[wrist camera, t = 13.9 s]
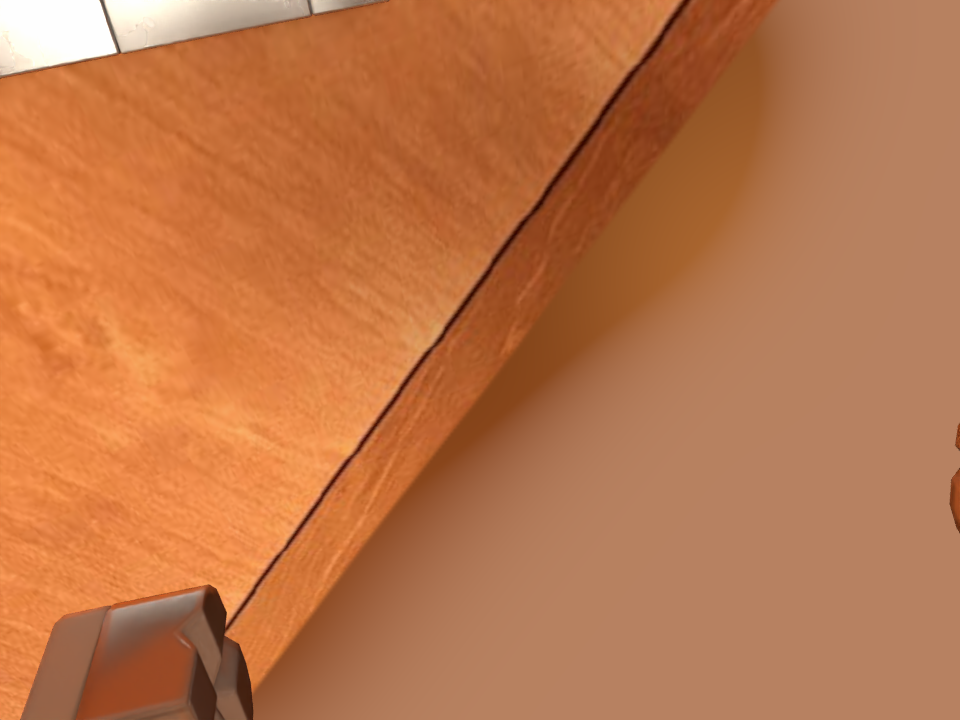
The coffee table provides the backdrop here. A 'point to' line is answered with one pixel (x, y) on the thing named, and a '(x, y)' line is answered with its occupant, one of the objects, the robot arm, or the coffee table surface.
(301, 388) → the coffee table surface
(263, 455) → the coffee table surface
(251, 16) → the drain plate
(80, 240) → the coffee table surface
